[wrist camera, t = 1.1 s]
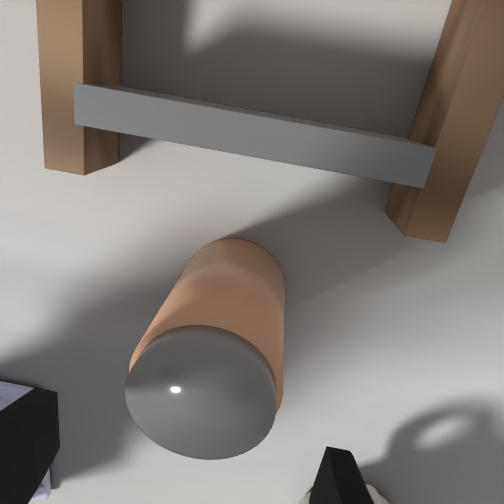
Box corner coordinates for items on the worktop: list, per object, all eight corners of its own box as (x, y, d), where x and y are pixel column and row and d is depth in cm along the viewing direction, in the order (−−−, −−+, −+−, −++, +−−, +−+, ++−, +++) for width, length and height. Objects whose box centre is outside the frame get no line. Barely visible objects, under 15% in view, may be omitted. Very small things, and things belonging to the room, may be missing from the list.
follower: (390, 166, 15) (423, 188, 11) (126, 118, 15) (74, 124, 12) (400, 136, 15) (437, 148, 11) (127, 87, 15) (73, 82, 11)
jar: (274, 336, 19) (266, 477, 12) (180, 318, 19) (116, 446, 12) (294, 249, 17) (298, 353, 10) (189, 229, 18) (120, 319, 10)
